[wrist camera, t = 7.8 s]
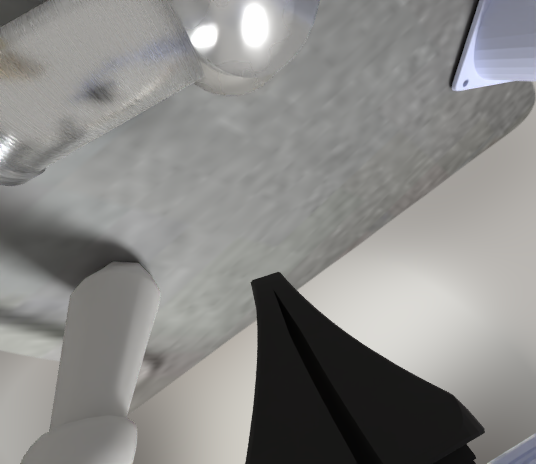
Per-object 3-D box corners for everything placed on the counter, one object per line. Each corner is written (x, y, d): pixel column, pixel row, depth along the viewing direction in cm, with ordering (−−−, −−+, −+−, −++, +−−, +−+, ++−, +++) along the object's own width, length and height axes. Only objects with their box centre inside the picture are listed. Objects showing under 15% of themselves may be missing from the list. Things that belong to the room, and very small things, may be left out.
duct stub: (290, -116, 11) (330, -180, 8) (295, 85, 15) (321, 89, 13) (82, -126, 9) (42, -212, 6) (159, 105, 14) (156, 114, 11)
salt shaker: (61, 281, 18) (-85, 558, 8) (120, 239, 17) (46, 471, 7) (127, 311, 21) (86, 526, 11) (176, 277, 21) (179, 467, 11)
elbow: (264, -150, 9) (316, -275, 5) (308, 43, 12) (354, 33, 9) (-89, 51, 8) (-240, 39, 5) (65, 182, 12) (28, 220, 9)
